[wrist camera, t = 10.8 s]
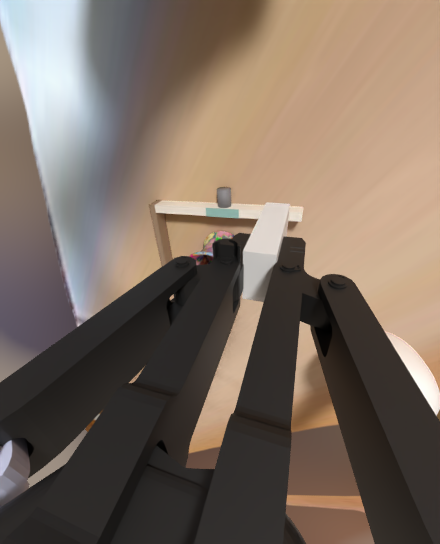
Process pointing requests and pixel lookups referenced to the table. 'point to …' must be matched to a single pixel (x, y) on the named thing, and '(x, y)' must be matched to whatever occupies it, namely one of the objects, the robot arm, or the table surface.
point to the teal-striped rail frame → (204, 209)
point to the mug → (209, 247)
